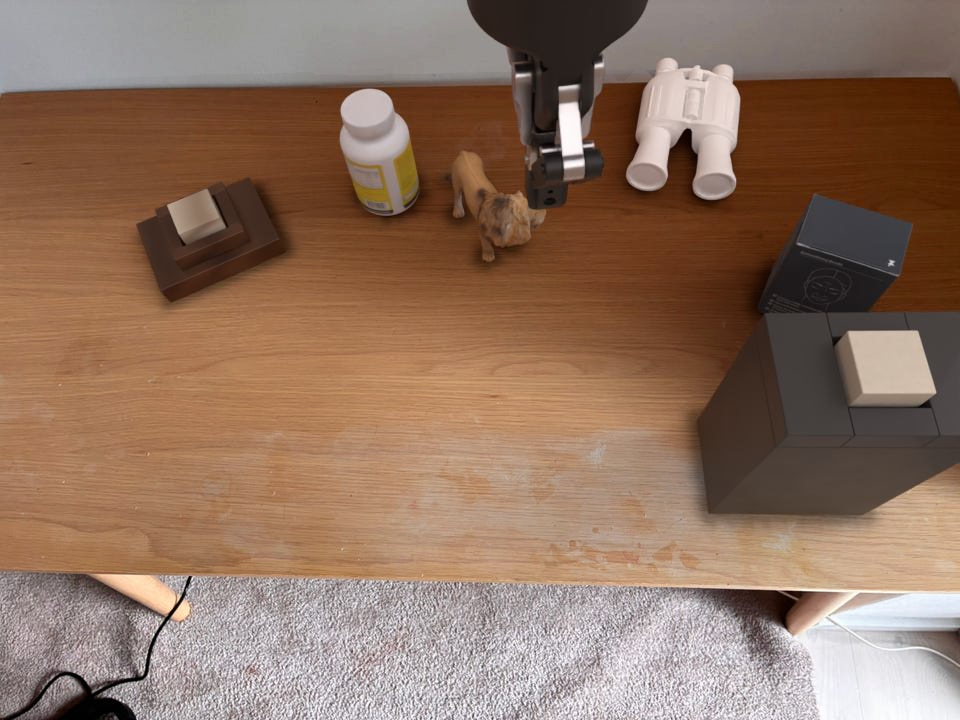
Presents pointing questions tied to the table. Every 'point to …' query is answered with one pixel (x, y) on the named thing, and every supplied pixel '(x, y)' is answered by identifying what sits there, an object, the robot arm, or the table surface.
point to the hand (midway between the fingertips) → (545, 199)
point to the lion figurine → (491, 206)
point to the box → (836, 260)
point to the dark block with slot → (825, 420)
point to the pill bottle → (378, 153)
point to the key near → (883, 369)
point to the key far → (196, 216)
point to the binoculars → (693, 107)
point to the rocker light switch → (211, 242)
